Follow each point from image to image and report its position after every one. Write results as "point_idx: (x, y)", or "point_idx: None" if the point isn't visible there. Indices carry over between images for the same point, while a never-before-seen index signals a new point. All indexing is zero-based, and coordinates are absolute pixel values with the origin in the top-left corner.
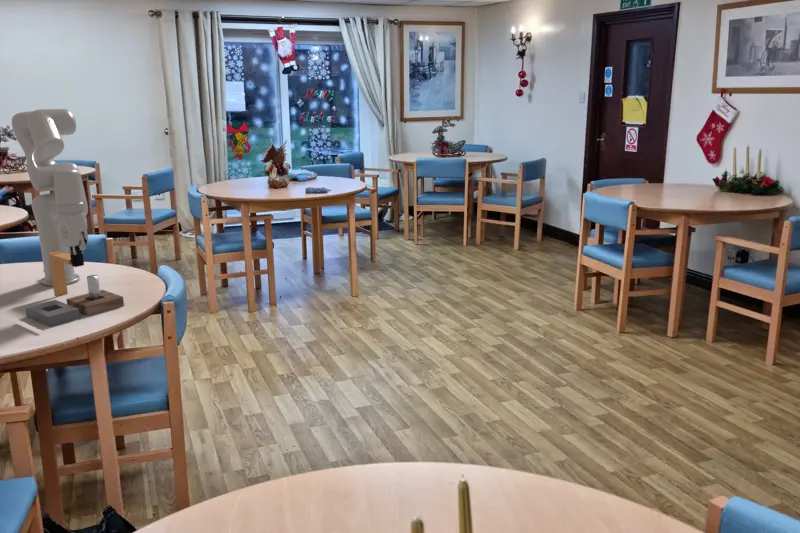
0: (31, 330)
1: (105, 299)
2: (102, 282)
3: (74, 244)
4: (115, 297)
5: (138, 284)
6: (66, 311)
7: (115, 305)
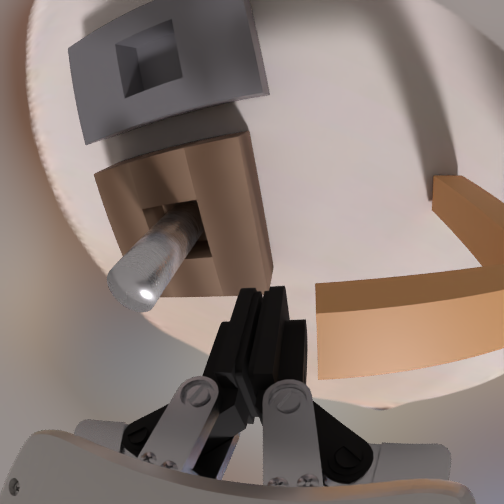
0: (135, 2)
1: None
2: None
3: (26, 441)
4: None
5: None
6: (80, 103)
7: None
